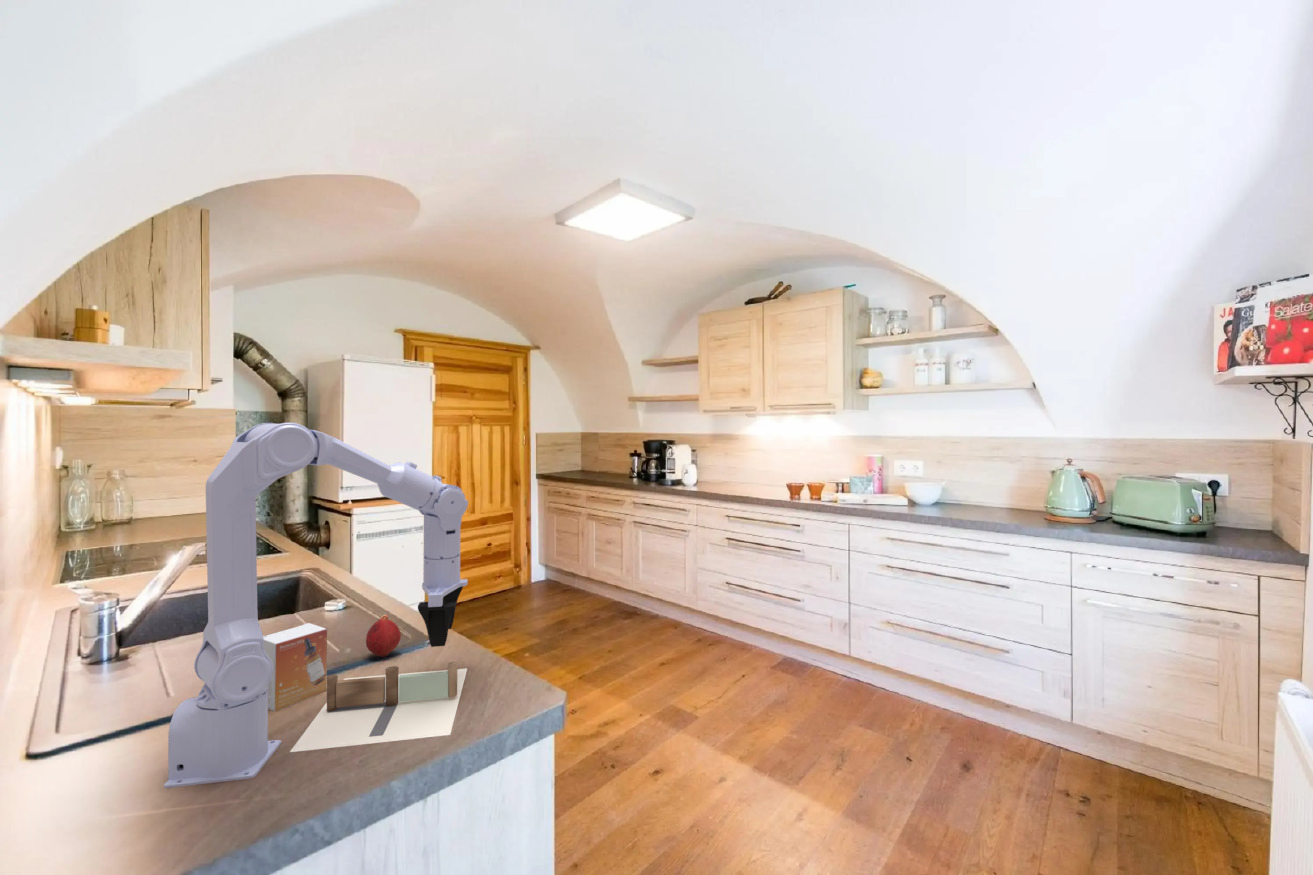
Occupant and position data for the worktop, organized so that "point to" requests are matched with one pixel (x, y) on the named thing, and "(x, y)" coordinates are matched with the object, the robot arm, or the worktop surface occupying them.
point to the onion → (383, 637)
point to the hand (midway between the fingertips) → (441, 636)
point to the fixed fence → (363, 690)
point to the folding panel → (429, 684)
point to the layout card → (382, 721)
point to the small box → (296, 664)
